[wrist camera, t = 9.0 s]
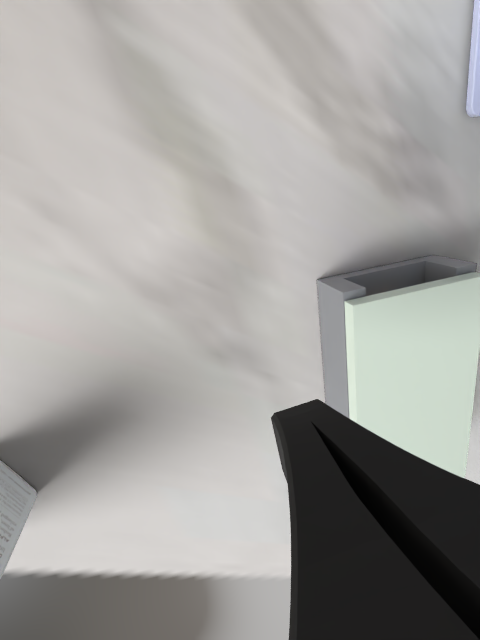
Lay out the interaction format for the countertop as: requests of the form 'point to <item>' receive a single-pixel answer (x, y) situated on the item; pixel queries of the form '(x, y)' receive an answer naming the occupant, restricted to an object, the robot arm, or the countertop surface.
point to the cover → (417, 366)
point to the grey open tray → (362, 285)
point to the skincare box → (12, 510)
